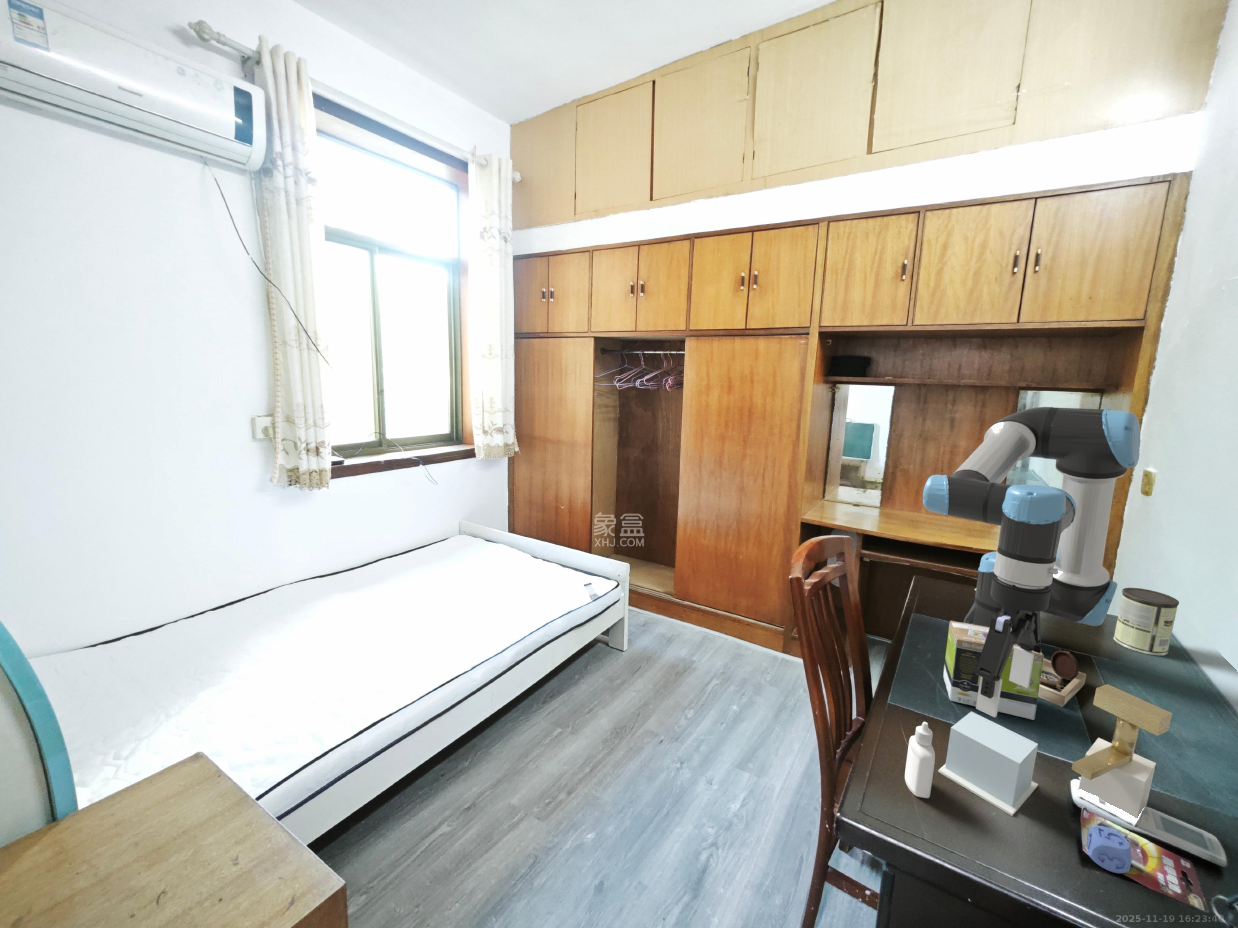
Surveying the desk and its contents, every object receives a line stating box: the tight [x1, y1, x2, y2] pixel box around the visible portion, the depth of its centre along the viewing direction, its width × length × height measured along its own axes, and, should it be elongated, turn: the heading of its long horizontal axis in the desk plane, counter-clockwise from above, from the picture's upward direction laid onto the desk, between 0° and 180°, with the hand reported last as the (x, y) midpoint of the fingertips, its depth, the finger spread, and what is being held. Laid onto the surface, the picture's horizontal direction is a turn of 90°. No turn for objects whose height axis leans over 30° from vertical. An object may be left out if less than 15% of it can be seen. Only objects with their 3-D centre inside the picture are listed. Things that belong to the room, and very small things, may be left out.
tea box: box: [943, 620, 1045, 721], centre depth 110 cm, size 15×10×15 cm, turn 65°
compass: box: [1040, 650, 1080, 691], centre depth 117 cm, size 8×8×7 cm
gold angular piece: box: [1071, 683, 1173, 780], centre depth 80 cm, size 13×8×10 cm, turn 112°
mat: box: [937, 763, 1039, 817], centre depth 89 cm, size 11×11×1 cm
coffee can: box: [1113, 587, 1180, 657], centre depth 134 cm, size 10×10×14 cm
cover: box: [944, 711, 1039, 807], centre depth 88 cm, size 10×8×8 cm
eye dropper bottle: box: [904, 721, 936, 799], centre depth 86 cm, size 4×6×12 cm
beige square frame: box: [1038, 657, 1087, 708], centre depth 119 cm, size 15×15×2 cm
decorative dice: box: [1086, 825, 1132, 874], centre depth 74 cm, size 4×4×4 cm
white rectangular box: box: [1078, 737, 1157, 818], centre depth 84 cm, size 7×7×8 cm
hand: (1003, 697), depth 87 cm, fingers open, 13 cm apart
